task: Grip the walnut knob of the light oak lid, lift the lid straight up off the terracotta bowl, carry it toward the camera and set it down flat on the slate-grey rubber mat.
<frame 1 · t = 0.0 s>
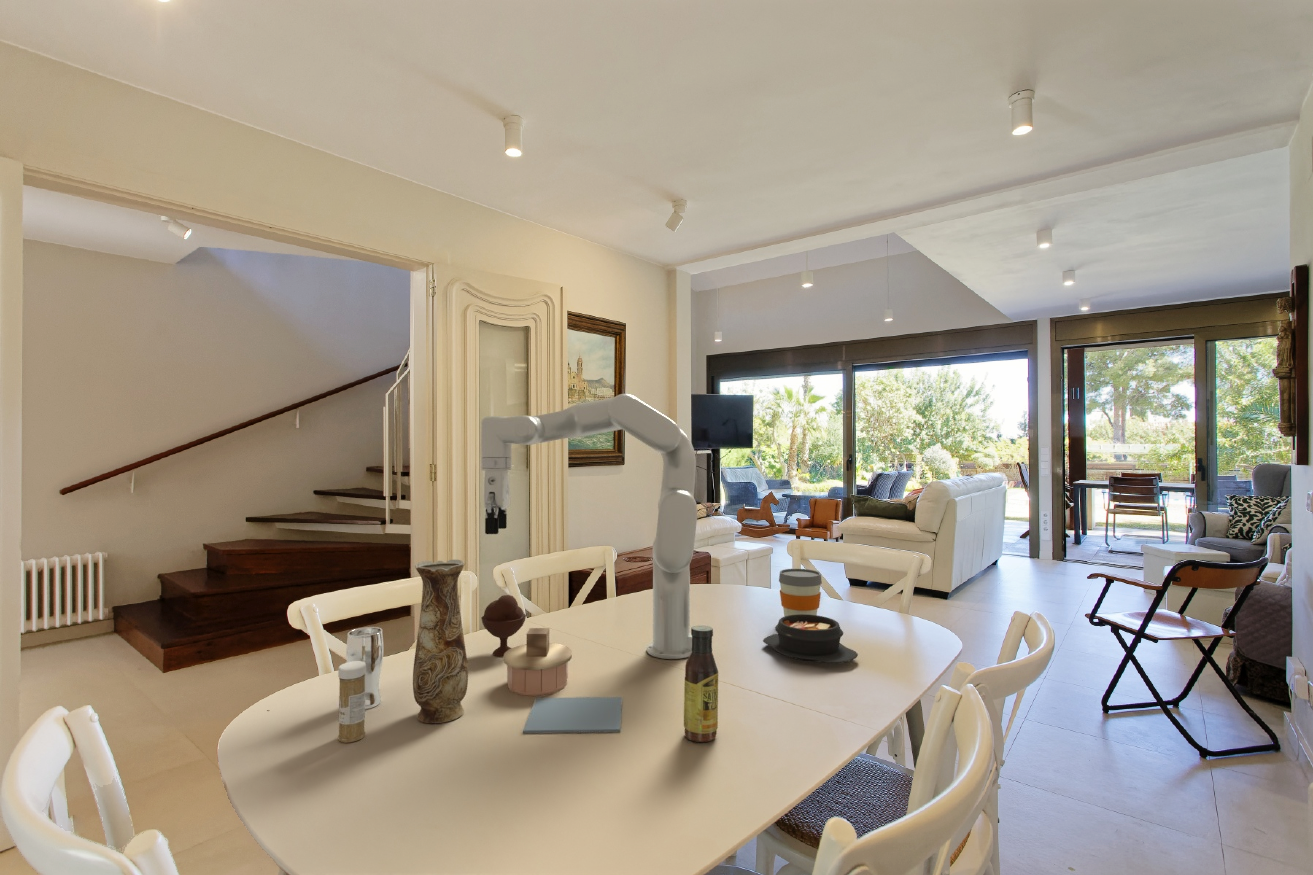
hand: (496, 531, 163), 31 cm above the table, fingers open, 9 cm apart
reusable coffee cup: (800, 623, 190), on the table
sprinkles bottle: (352, 738, 116), on the table
casserole: (808, 655, 162), on the table
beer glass: (364, 705, 131), on the table
mat: (575, 715, 126), on the table
sauce bottle: (701, 737, 117), on the table
bowl: (537, 684, 142), on the table, touching lid
vase: (440, 714, 127), on the table
lid: (538, 657, 142), point 6 cm above the table, touching bowl
ice cream bowl: (503, 653, 163), on the table
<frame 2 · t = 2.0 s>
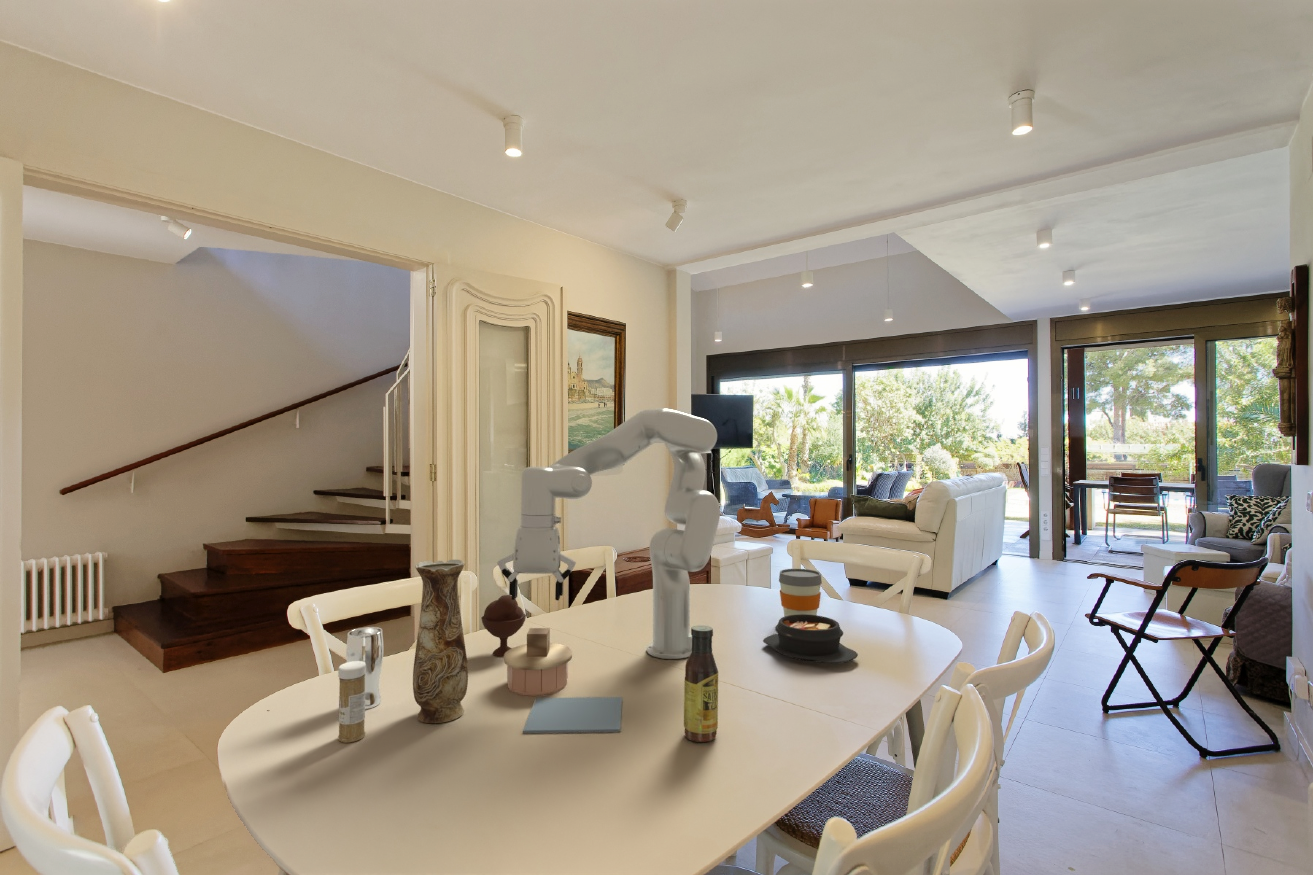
hand: (536, 598, 142), 19 cm above the table, fingers open, 9 cm apart
nothing on the table moved.
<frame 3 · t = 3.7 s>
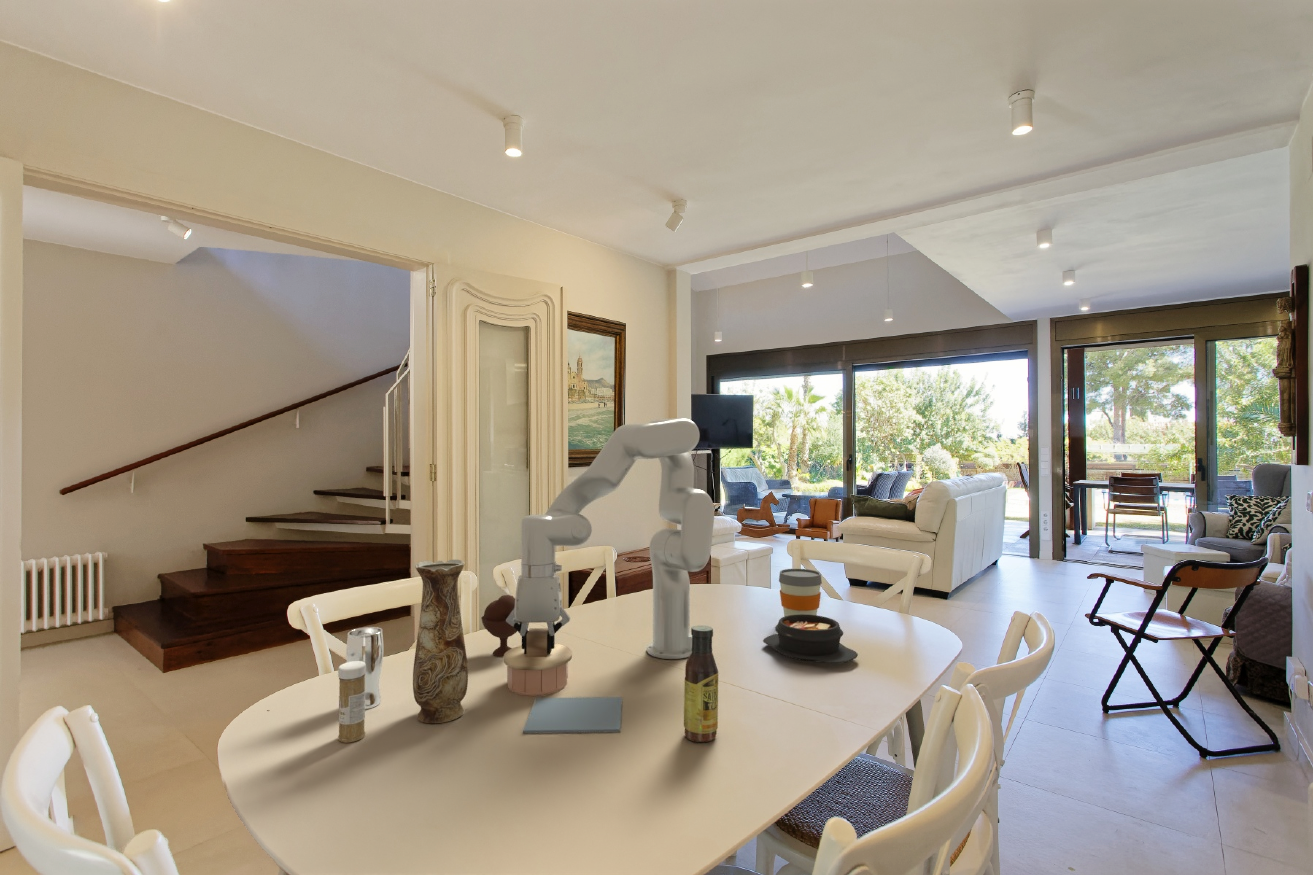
hand: (538, 651, 142), 7 cm above the table, fingers closed on lid, 4 cm apart
lid: (538, 658, 142), point 6 cm above the table, touching bowl, gripper
everything else where it was.
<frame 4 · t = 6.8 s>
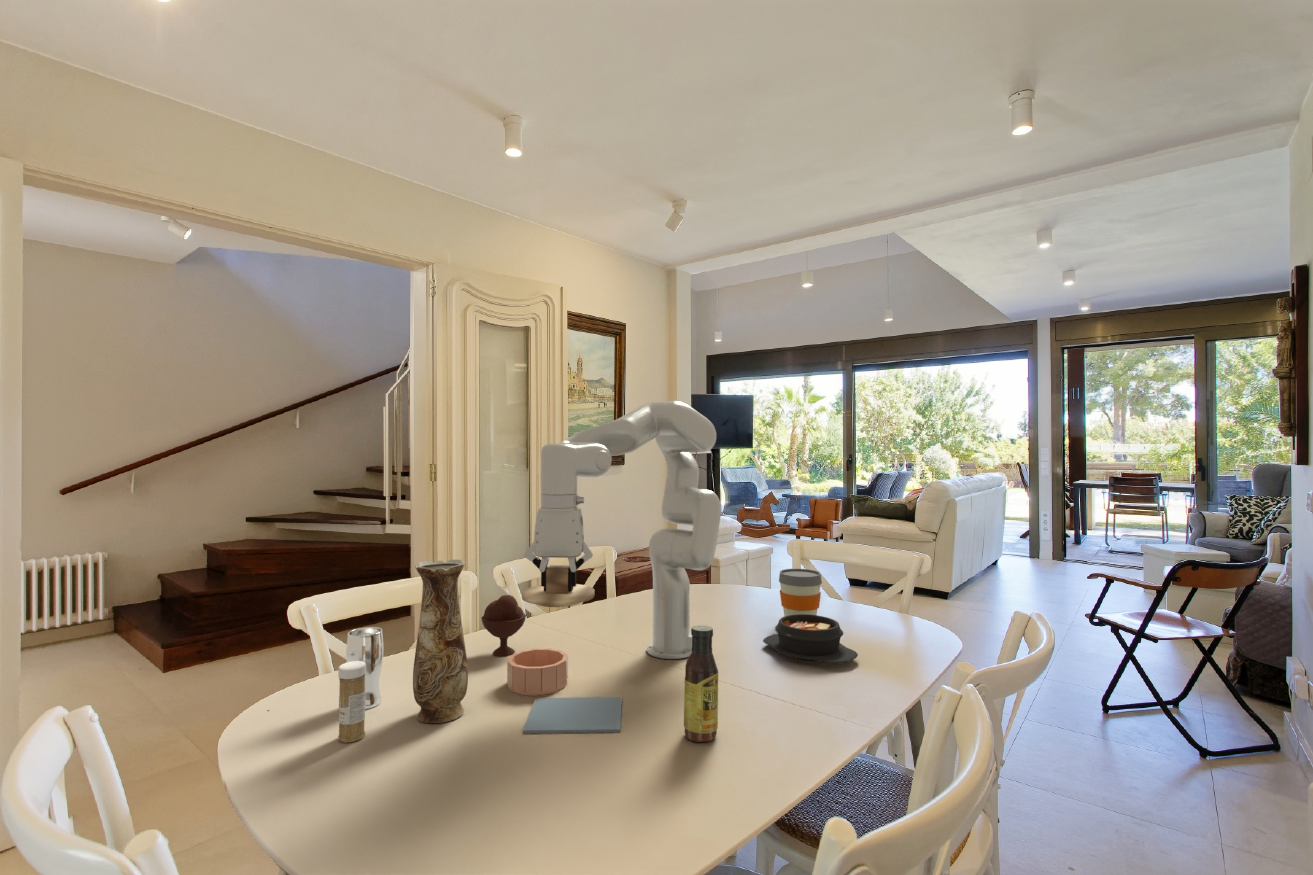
hand: (558, 588, 133), 23 cm above the table, fingers closed on lid, 4 cm apart
bowl: (538, 684, 142), on the table
lid: (558, 596, 133), point 22 cm above the table, touching gripper
everything else where it was.
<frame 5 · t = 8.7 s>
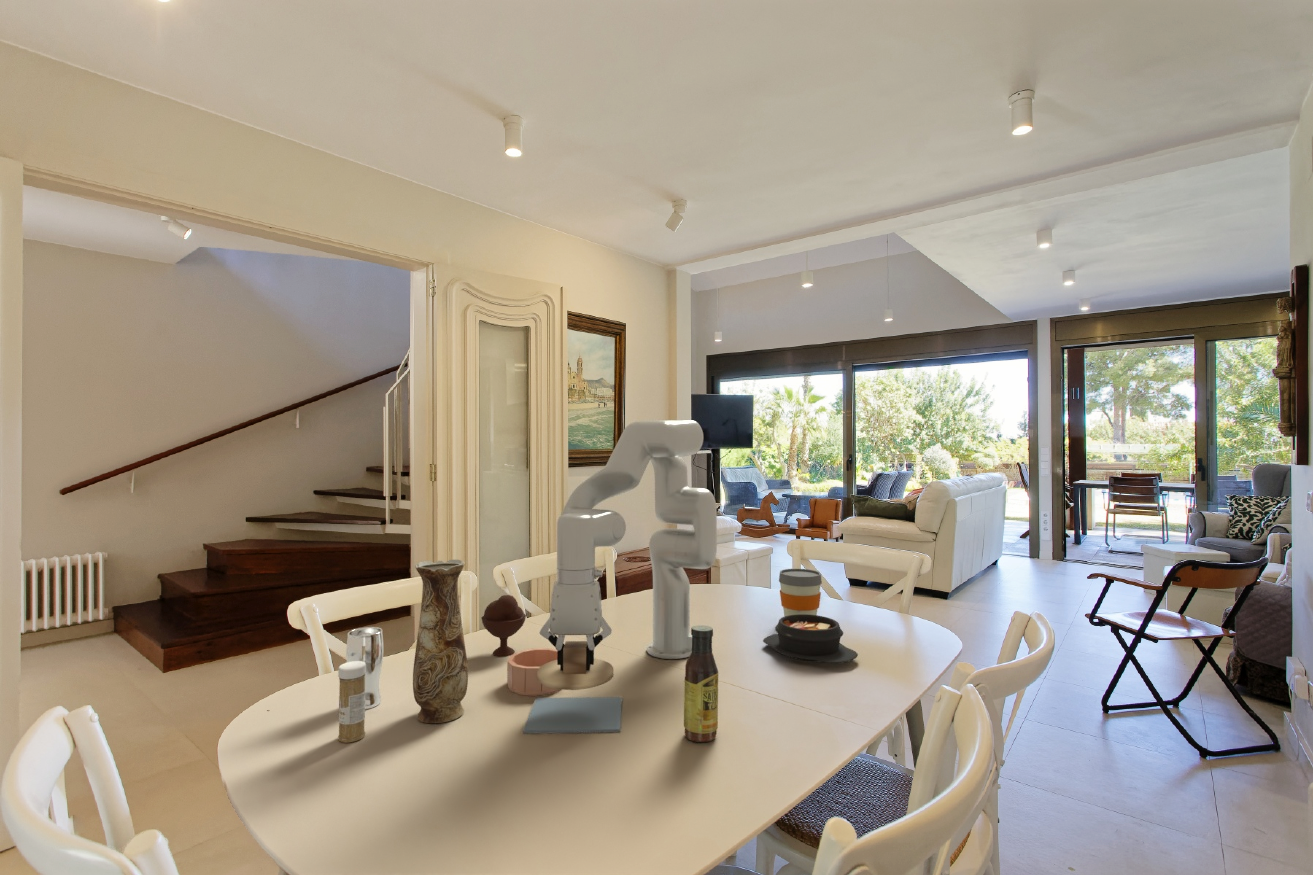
hand: (575, 667, 126), 9 cm above the table, fingers closed on lid, 4 cm apart
lid: (575, 674, 126), point 8 cm above the table, touching gripper
everything else where it was.
when the fingers open (4 cm above the table, at t = 10.2 s): lid drops 1 cm, resting on mat.
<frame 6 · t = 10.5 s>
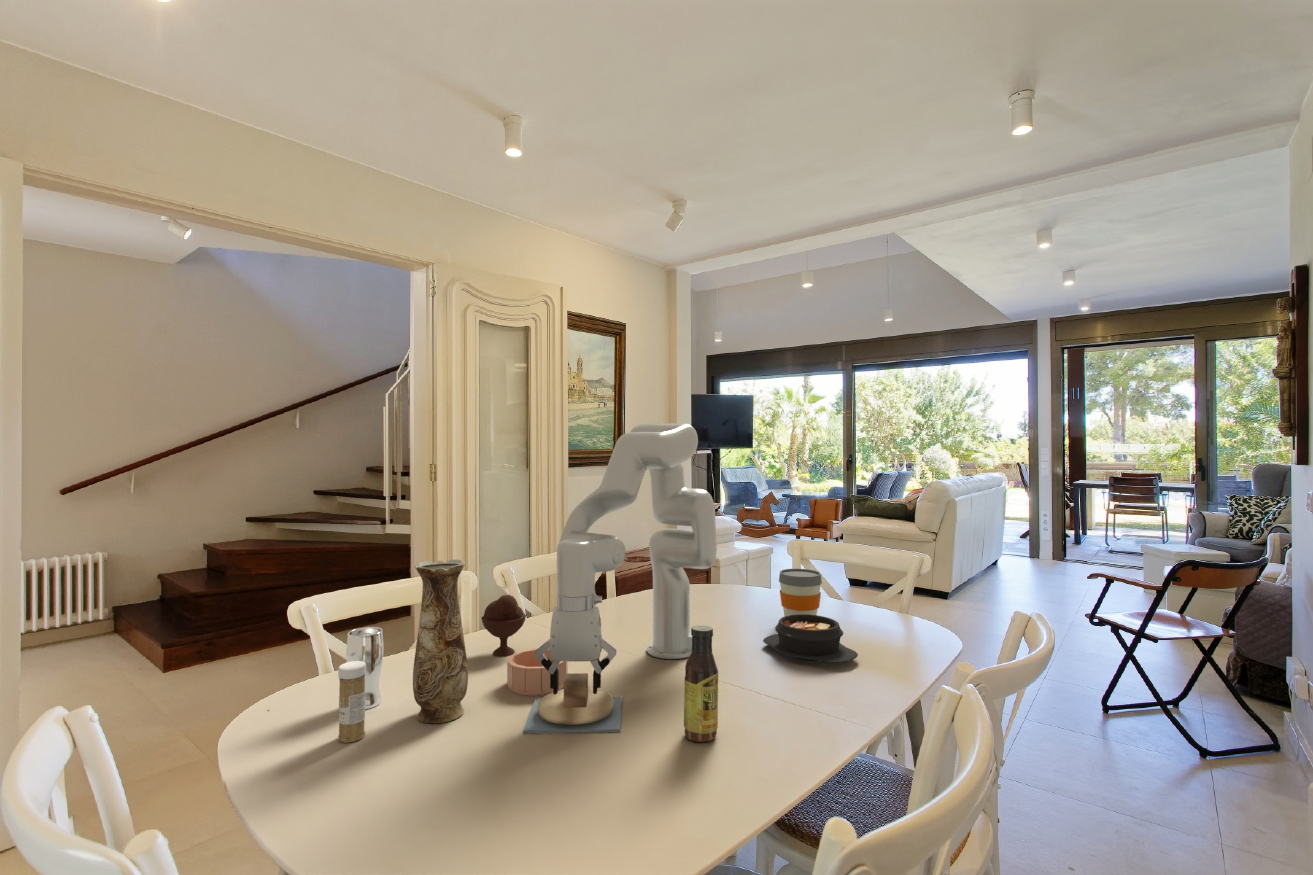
hand: (575, 690, 126), 5 cm above the table, fingers open, 7 cm apart
lid: (576, 707, 126), point 1 cm above the table, touching mat
everything else where it was.
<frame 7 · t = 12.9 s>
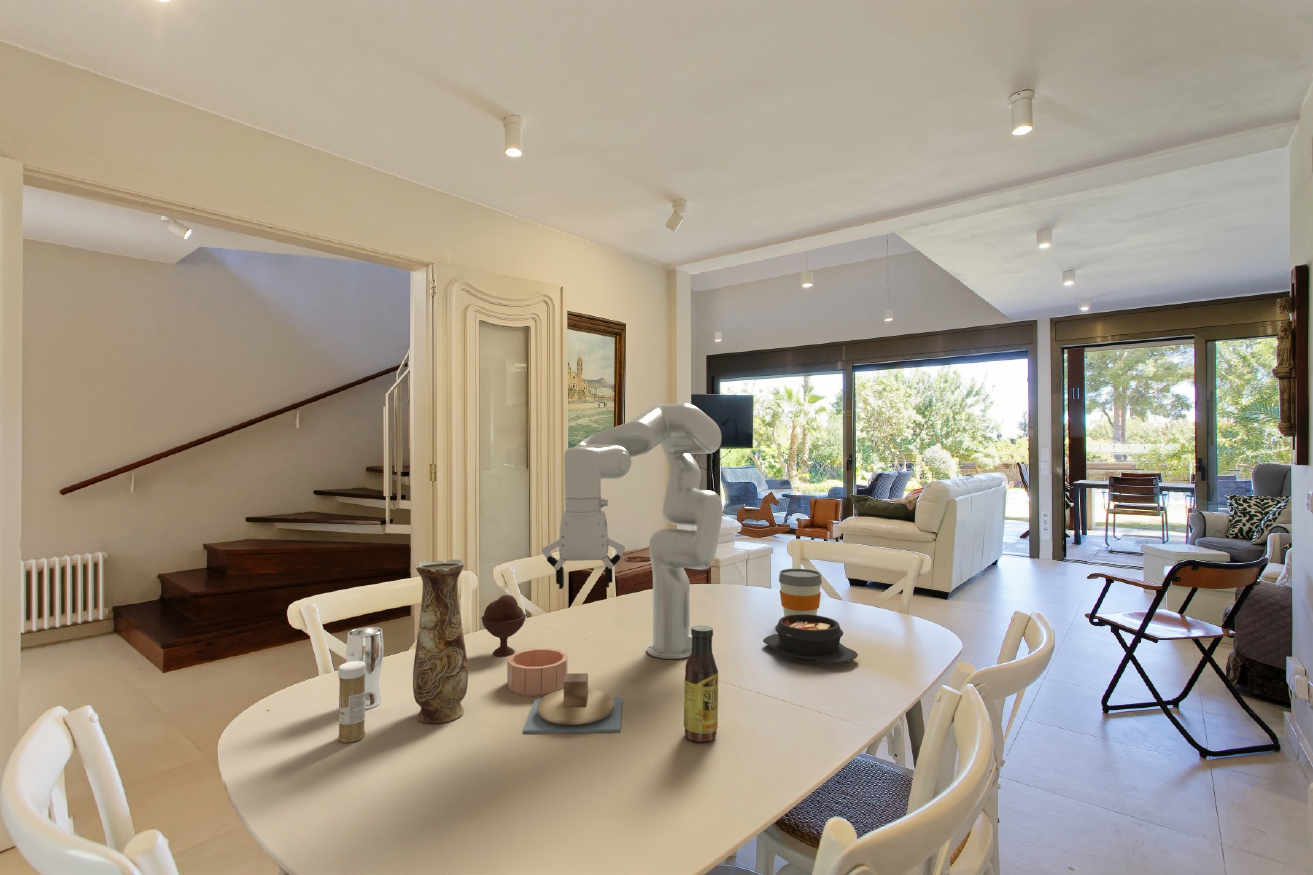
hand: (584, 586, 134), 24 cm above the table, fingers open, 9 cm apart
nothing on the table moved.
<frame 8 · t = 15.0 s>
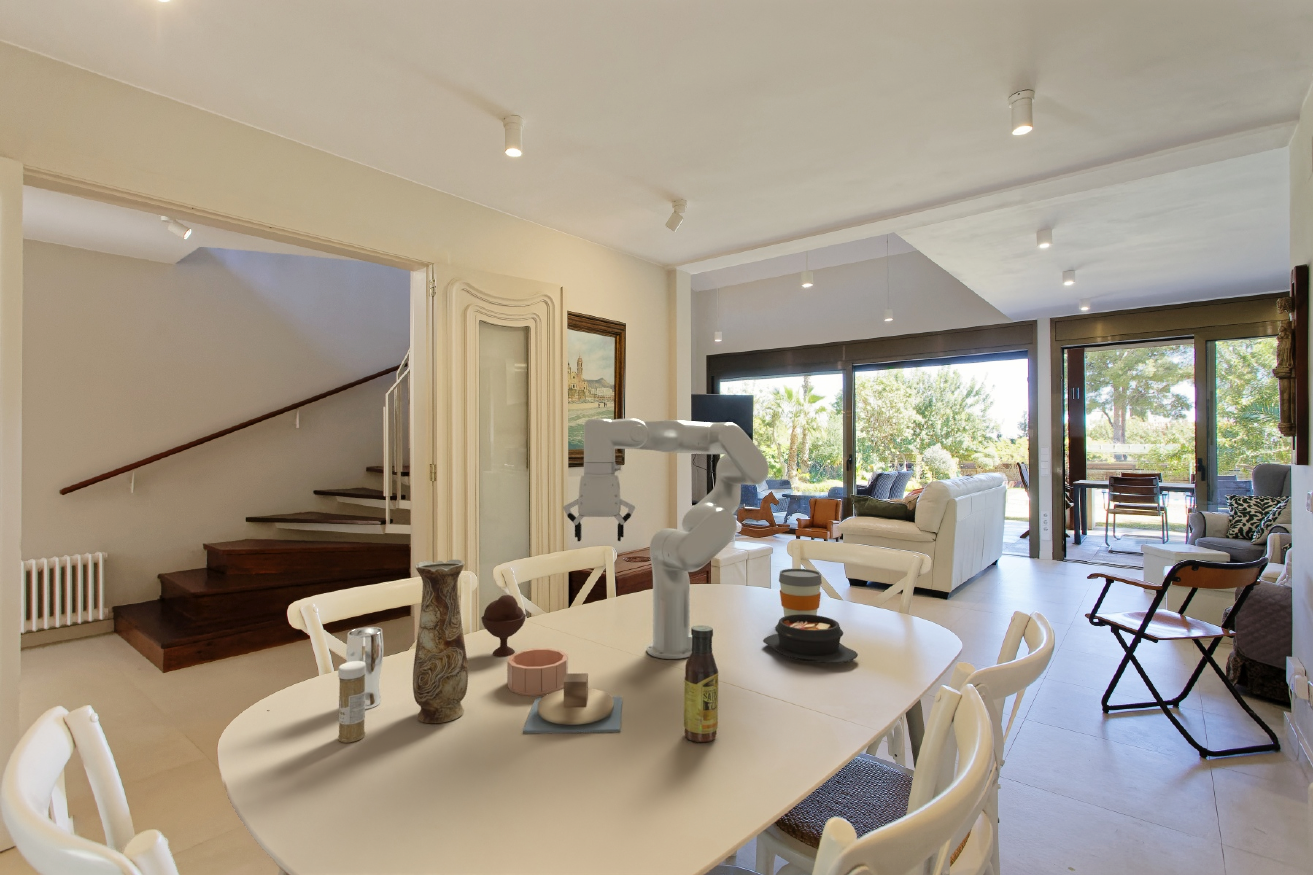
hand: (599, 540, 154), 30 cm above the table, fingers open, 9 cm apart
nothing on the table moved.
at the end: lid inside the target area on the mat (0.1 cm from its centre), point 1.5 cm above the mat's base; lid touching mat; bowl moved 0.2 cm from its start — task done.
